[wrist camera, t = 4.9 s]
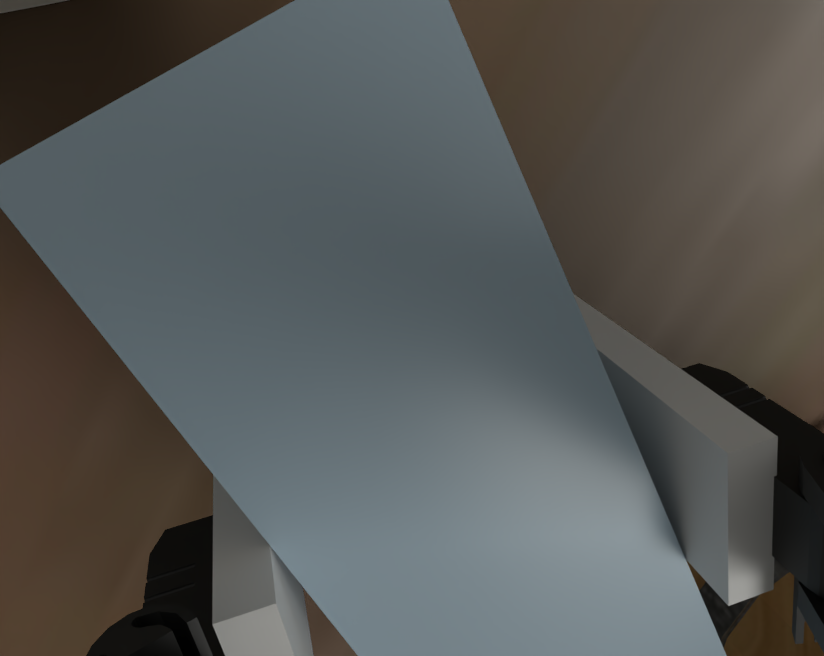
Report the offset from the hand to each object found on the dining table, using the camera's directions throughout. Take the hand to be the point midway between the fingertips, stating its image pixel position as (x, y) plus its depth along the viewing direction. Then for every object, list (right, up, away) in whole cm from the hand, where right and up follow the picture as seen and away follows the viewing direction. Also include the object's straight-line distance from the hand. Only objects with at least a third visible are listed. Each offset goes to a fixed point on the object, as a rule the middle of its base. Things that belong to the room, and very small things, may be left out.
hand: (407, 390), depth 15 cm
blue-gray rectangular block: (0, 0, +1) cm, 1 cm away
